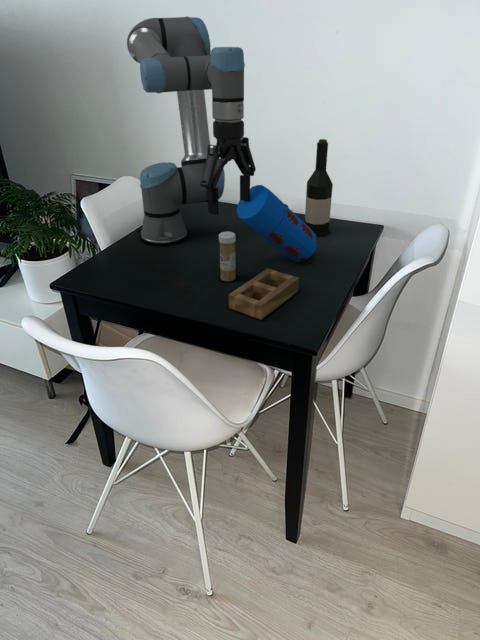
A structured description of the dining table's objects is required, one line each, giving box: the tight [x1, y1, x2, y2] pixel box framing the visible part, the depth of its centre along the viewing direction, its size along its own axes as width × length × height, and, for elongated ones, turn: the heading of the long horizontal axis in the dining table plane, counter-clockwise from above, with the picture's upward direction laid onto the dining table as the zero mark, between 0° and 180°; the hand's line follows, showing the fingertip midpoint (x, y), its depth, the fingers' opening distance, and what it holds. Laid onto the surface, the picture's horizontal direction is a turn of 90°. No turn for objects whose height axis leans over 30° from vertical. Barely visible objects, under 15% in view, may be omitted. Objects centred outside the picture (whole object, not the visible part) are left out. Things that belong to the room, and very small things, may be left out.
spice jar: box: [218, 231, 237, 283], centre depth 140 cm, size 5×5×13 cm
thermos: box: [236, 184, 319, 263], centre depth 144 cm, size 11×11×25 cm
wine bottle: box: [304, 138, 334, 237], centre depth 164 cm, size 8×8×30 cm
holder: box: [228, 268, 300, 321], centre depth 133 cm, size 10×18×4 cm, turn 144°
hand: (229, 206), depth 132 cm, fingers open, 13 cm apart
